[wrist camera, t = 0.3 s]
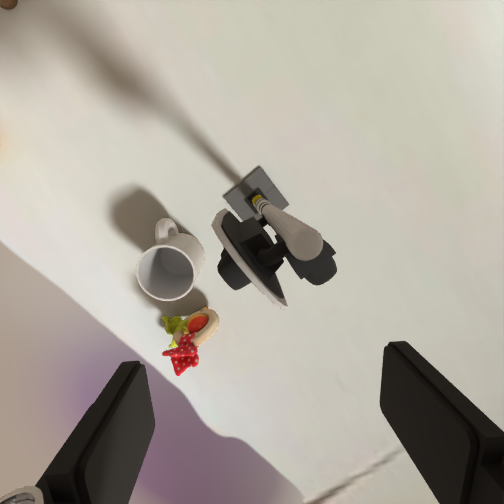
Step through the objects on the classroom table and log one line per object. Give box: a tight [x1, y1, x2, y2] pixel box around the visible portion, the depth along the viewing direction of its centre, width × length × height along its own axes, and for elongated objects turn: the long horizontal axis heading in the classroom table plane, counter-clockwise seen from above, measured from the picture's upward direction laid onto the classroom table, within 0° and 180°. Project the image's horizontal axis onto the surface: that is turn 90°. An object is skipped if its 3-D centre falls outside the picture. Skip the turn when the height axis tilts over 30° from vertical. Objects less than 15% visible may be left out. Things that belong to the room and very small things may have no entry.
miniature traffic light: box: [212, 167, 337, 309], centre depth 24 cm, size 8×8×30 cm
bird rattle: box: [162, 307, 219, 376], centre depth 38 cm, size 6×11×9 cm
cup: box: [136, 218, 205, 301], centre depth 35 cm, size 7×10×9 cm
